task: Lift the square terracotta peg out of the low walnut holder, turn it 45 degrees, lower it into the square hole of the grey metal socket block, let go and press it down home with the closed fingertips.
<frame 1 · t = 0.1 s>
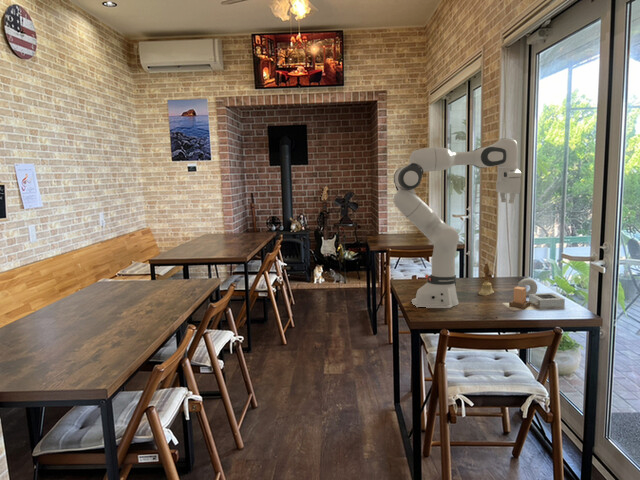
hand: (507, 202, 220), 48 cm above the table, tool pointing down, fingers open, 8 cm apart
hand bell: (486, 294, 241), on the table
socket block: (546, 308, 212), resting on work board
peg holder: (519, 309, 212), resting on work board
peg: (519, 306, 212), point 1 cm above the table, touching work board
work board: (532, 308, 212), on the table
donut: (527, 298, 230), on the table
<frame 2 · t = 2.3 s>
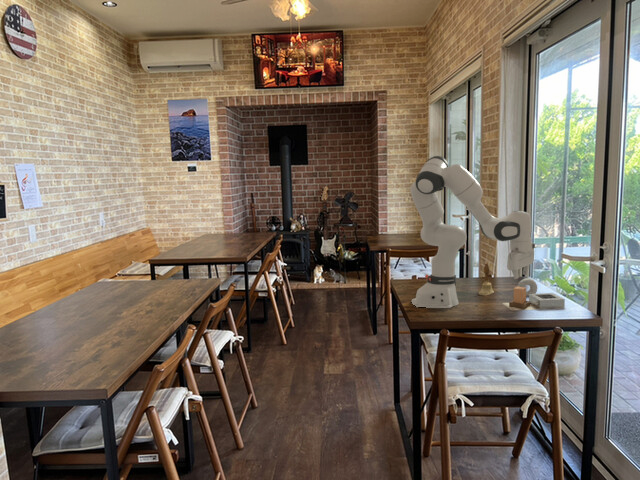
hand: (520, 276, 210), 15 cm above the table, tool pointing down, fingers open, 8 cm apart
nothing on the table moved.
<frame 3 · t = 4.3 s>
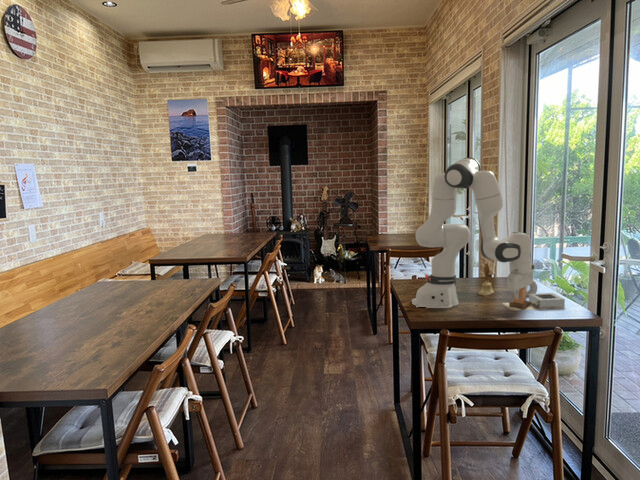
hand: (519, 297, 211), 6 cm above the table, tool pointing down, fingers closed on peg, 4 cm apart
peg: (519, 306, 212), point 2 cm above the table, touching gripper, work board
everything else where it was.
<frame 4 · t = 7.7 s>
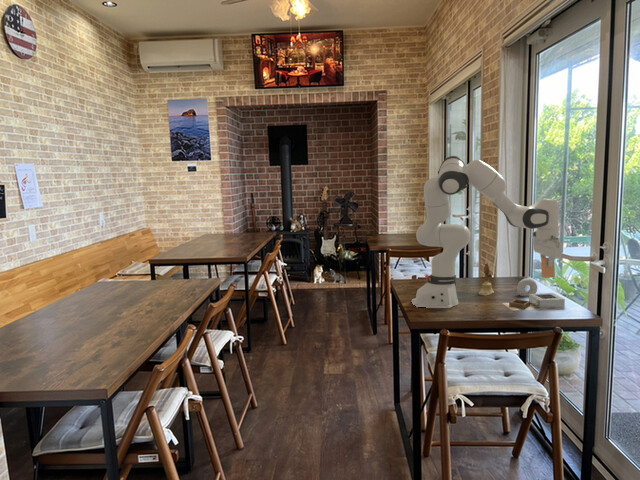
hand: (547, 265, 209), 20 cm above the table, tool pointing down, fingers closed on peg, 4 cm apart
peg: (548, 276, 209), point 15 cm above the table, touching gripper
everything else where it was.
when the fingers open (7 cm above the table, at t = 11.3 s): peg stays where it is, resting on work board.
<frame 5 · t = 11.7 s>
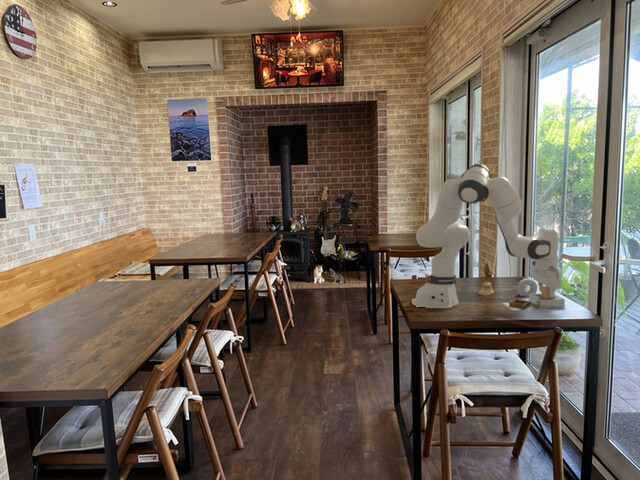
hand: (546, 294, 211), 7 cm above the table, tool pointing down, fingers open, 8 cm apart
peg: (547, 305, 211), point 1 cm above the table, touching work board
everything else where it was.
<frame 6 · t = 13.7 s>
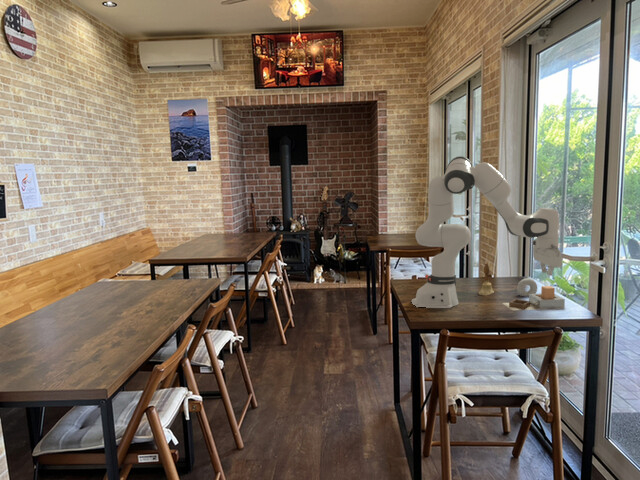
hand: (546, 273, 210), 16 cm above the table, tool pointing down, fingers open, 4 cm apart
nothing on the table moved.
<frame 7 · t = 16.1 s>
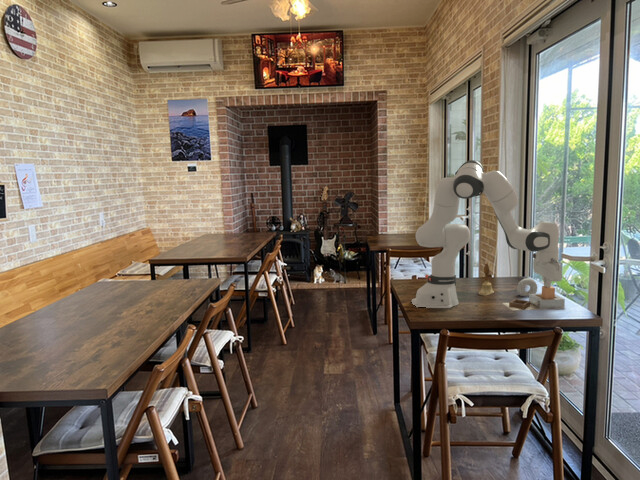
hand: (547, 286, 210), 10 cm above the table, tool pointing down, fingers closed, pressing on peg
peg: (547, 305, 211), point 2 cm above the table, touching gripper, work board
everything else where it was.
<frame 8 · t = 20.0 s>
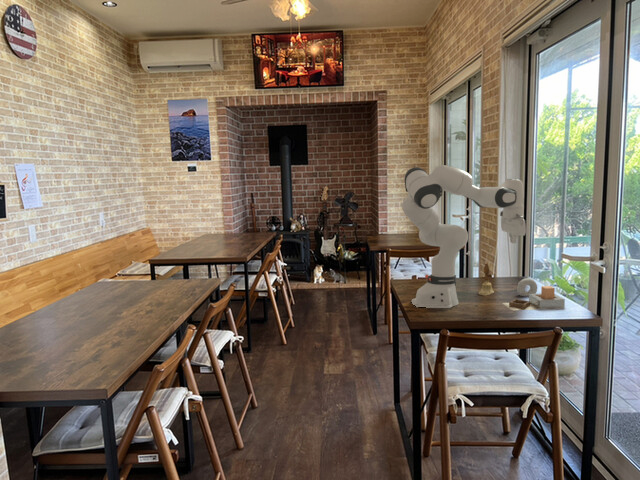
hand: (513, 242, 219), 29 cm above the table, tool pointing down, fingers closed
peg: (547, 305, 211), point 1 cm above the table, touching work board
everything else where it was.
at the end: peg 0.8 cm off-centre on the socket block, point 1.5 cm above the socket block's base; peg tilted 0°; the gripper is holding nothing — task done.
